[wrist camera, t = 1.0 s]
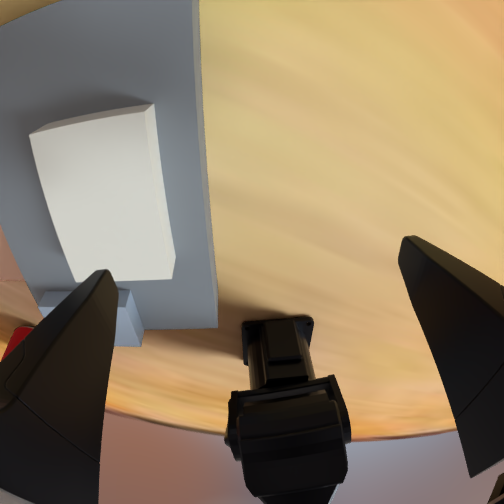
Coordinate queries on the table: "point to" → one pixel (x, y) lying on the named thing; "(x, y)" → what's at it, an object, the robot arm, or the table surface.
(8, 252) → the mat
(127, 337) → the thick blue-grey slab
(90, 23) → the plate
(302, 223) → the table surface
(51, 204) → the cream card
